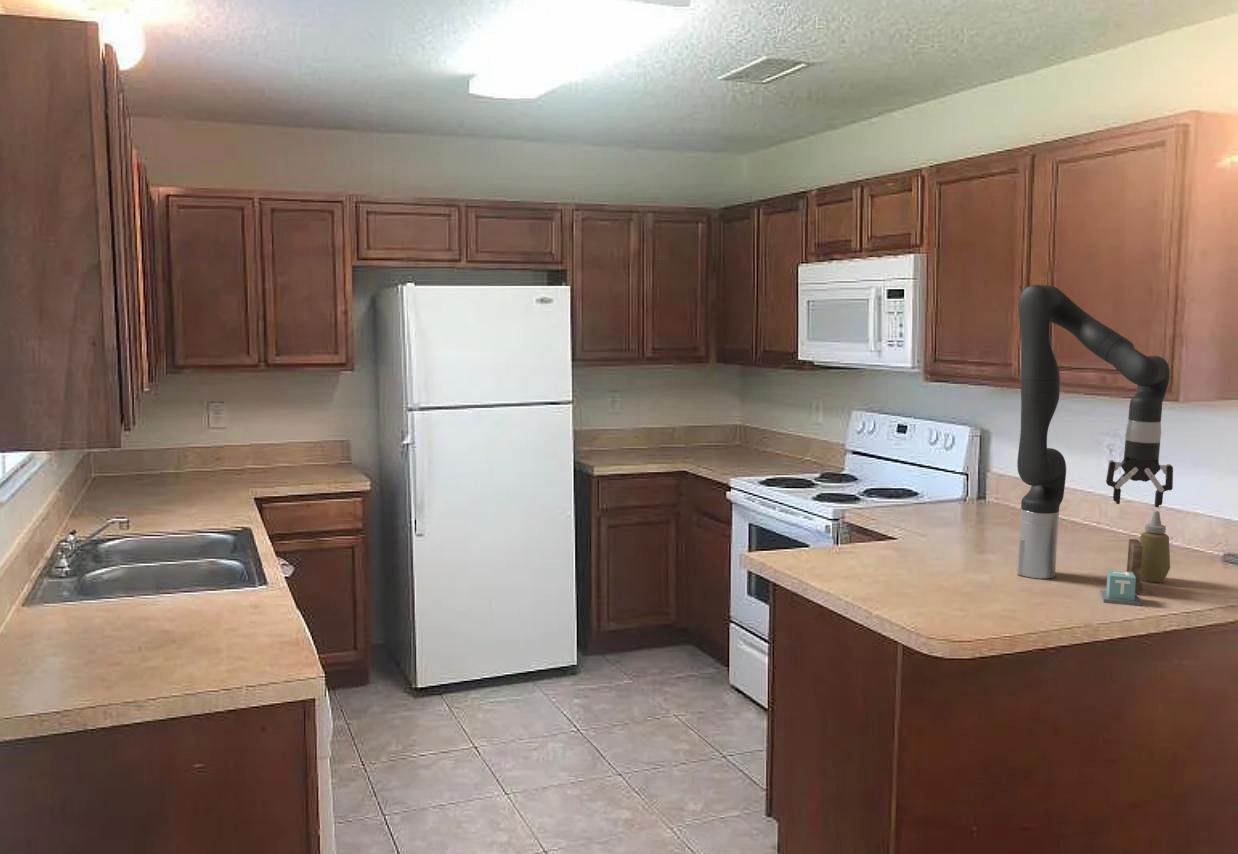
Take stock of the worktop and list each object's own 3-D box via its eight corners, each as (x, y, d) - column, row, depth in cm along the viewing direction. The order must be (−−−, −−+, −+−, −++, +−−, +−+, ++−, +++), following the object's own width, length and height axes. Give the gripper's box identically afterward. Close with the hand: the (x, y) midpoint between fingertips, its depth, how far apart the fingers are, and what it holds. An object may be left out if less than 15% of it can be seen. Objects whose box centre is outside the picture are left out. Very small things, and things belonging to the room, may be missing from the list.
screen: (1123, 593, 255) (1126, 545, 254) (1119, 584, 263) (1122, 538, 261) (1145, 595, 254) (1149, 547, 252) (1141, 586, 261) (1144, 540, 260)
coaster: (1103, 602, 248) (1103, 598, 248) (1099, 593, 255) (1100, 590, 255) (1140, 605, 245) (1140, 602, 245) (1135, 596, 253) (1135, 593, 253)
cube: (1108, 598, 248) (1110, 575, 247) (1106, 591, 253) (1107, 569, 253) (1134, 600, 246) (1136, 577, 246) (1131, 594, 252) (1132, 571, 251)
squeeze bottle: (1158, 575, 272) (1163, 508, 269) (1175, 584, 264) (1181, 514, 261) (1127, 575, 271) (1132, 508, 269) (1144, 584, 263) (1149, 514, 261)
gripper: (1111, 439, 248) (1106, 505, 250) (1178, 443, 243) (1172, 511, 246) (1108, 435, 255) (1103, 499, 257) (1173, 439, 250) (1167, 504, 253)
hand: (1137, 505), depth 251 cm, fingers open, 8 cm apart
